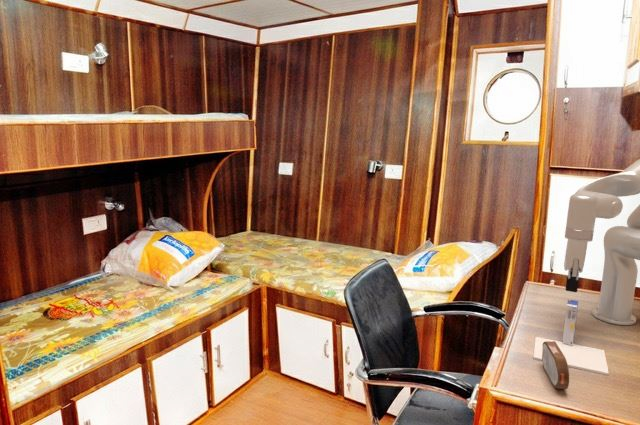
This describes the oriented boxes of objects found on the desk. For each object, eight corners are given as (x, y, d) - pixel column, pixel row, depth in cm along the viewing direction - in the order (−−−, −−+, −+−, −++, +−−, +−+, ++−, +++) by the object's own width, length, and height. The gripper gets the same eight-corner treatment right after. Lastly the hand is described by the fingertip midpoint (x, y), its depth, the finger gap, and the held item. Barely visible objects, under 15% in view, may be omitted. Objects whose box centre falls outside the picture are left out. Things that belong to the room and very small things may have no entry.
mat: (535, 338, 140) (535, 336, 140) (603, 352, 132) (604, 350, 132) (533, 359, 128) (533, 357, 128) (608, 375, 120) (608, 373, 120)
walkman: (564, 335, 142) (568, 298, 141) (574, 337, 141) (578, 300, 139) (562, 343, 135) (566, 304, 134) (572, 345, 134) (577, 306, 133)
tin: (568, 396, 110) (572, 364, 109) (554, 394, 111) (558, 362, 109) (550, 364, 125) (554, 336, 123) (538, 363, 126) (541, 334, 124)
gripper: (564, 228, 149) (557, 281, 152) (565, 237, 136) (557, 295, 139) (591, 231, 146) (583, 286, 149) (594, 240, 132) (586, 300, 136)
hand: (571, 290), depth 144 cm, fingers closed
